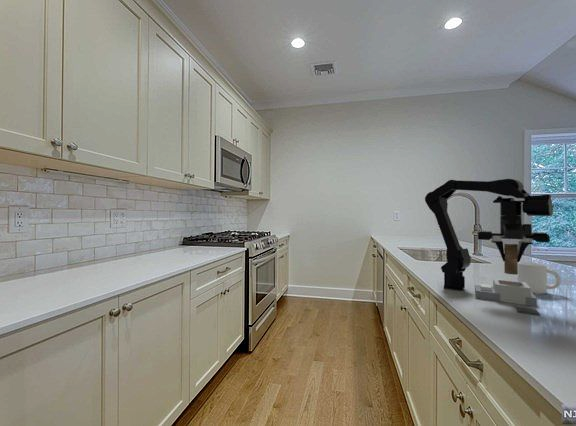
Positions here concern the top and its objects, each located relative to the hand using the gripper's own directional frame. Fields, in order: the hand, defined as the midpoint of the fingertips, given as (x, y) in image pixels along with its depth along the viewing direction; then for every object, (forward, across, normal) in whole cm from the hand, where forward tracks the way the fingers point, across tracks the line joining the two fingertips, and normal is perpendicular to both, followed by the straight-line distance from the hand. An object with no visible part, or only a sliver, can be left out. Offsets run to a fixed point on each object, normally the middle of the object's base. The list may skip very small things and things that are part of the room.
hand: (510, 261), depth 95 cm
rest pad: (+13, +2, -12) cm, 18 cm away
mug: (+13, +10, +17) cm, 23 cm away
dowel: (+4, 0, 0) cm, 4 cm away
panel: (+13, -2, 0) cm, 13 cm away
